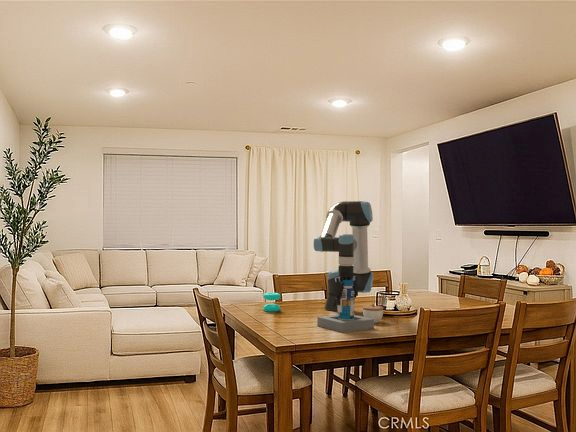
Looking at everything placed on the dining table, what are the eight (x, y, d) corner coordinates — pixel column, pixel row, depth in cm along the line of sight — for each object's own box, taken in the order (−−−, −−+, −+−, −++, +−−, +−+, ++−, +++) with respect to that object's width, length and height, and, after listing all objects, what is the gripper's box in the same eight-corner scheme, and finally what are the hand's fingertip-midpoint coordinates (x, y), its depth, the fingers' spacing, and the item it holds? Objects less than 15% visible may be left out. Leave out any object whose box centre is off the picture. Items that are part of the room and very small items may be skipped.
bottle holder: (348, 322, 316) (348, 313, 316) (374, 328, 299) (374, 319, 299) (317, 325, 304) (317, 316, 304) (342, 332, 288) (342, 323, 288)
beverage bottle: (334, 318, 304) (335, 278, 304) (349, 317, 307) (349, 278, 307) (342, 321, 296) (343, 280, 296) (357, 320, 300) (358, 279, 300)
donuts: (283, 293, 350) (269, 295, 344) (283, 311, 350) (269, 312, 344) (273, 291, 358) (259, 293, 352) (273, 308, 358) (259, 310, 352)
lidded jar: (384, 320, 321) (385, 303, 321) (381, 324, 310) (381, 306, 310) (365, 319, 324) (365, 302, 324) (360, 322, 314) (360, 304, 314)
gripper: (356, 263, 310) (355, 308, 310) (325, 265, 299) (325, 311, 299) (365, 264, 304) (365, 310, 304) (335, 266, 293) (334, 313, 293)
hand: (345, 311), depth 302 cm, fingers closed on beverage bottle, 7 cm apart
